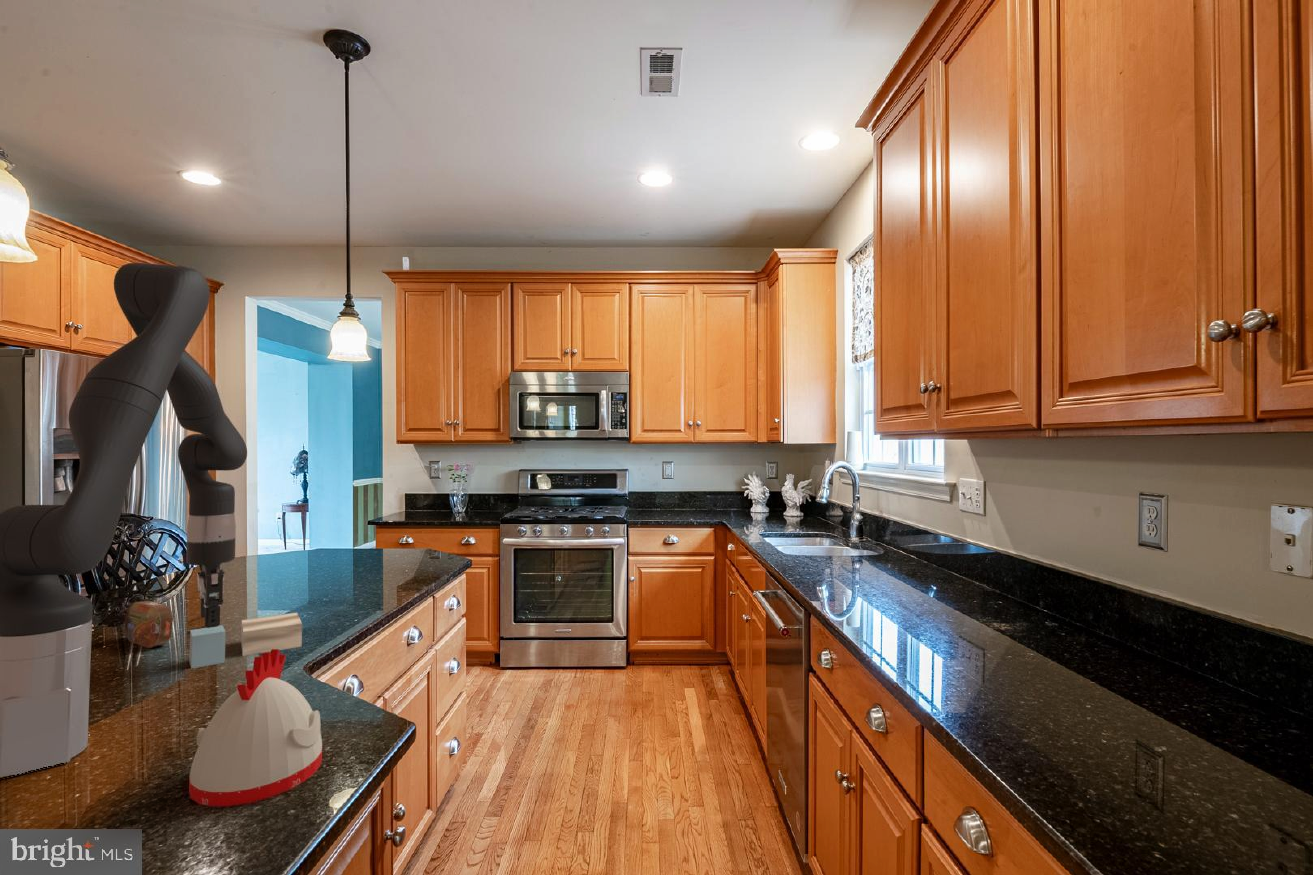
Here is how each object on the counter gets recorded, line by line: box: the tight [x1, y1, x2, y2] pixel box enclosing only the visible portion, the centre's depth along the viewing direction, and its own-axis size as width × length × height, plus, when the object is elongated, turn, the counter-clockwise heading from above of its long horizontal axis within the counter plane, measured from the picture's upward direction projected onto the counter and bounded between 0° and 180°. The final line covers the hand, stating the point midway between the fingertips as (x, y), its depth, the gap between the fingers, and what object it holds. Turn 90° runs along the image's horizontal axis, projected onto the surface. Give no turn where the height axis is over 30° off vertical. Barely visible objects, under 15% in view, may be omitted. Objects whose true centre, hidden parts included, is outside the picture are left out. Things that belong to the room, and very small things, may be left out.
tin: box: [124, 600, 174, 649], centre depth 122 cm, size 15×3×8 cm, turn 62°
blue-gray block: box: [188, 624, 227, 670], centre depth 112 cm, size 5×5×6 cm
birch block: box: [240, 612, 303, 657], centre depth 122 cm, size 10×10×5 cm
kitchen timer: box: [188, 649, 323, 807], centre depth 74 cm, size 14×14×15 cm
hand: (209, 621), depth 112 cm, fingers open, 8 cm apart
